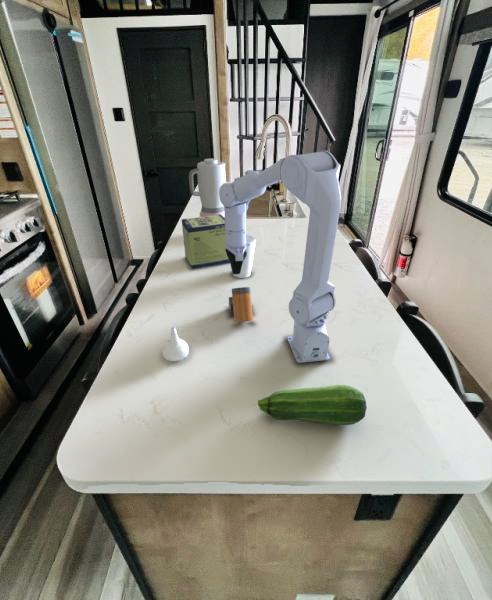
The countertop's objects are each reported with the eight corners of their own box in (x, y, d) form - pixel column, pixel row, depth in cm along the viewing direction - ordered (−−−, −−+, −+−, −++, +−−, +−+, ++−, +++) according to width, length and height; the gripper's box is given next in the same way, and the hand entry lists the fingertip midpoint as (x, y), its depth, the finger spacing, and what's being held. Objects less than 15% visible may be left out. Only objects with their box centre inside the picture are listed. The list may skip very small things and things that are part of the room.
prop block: (229, 308, 94) (228, 297, 92) (249, 306, 95) (249, 295, 92) (230, 316, 90) (230, 304, 88) (251, 314, 91) (251, 302, 89)
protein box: (231, 262, 120) (230, 222, 112) (191, 269, 115) (187, 228, 107) (222, 251, 128) (221, 213, 120) (184, 258, 123) (180, 218, 115)
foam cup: (223, 276, 111) (221, 241, 104) (235, 265, 118) (235, 232, 111) (247, 282, 107) (248, 246, 100) (259, 271, 114) (260, 236, 107)
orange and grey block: (231, 312, 92) (230, 281, 87) (248, 310, 93) (248, 279, 88) (235, 330, 85) (235, 297, 79) (254, 329, 85) (254, 296, 80)
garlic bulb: (163, 366, 74) (158, 339, 69) (162, 349, 79) (157, 323, 75) (191, 361, 75) (187, 334, 71) (187, 344, 80) (184, 318, 76)
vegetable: (372, 395, 55) (257, 388, 57) (369, 434, 56) (256, 427, 58) (360, 380, 63) (258, 375, 65) (358, 415, 63) (257, 409, 65)
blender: (222, 230, 149) (219, 156, 132) (233, 239, 139) (231, 160, 122) (190, 236, 143) (182, 159, 126) (198, 245, 134) (192, 163, 117)
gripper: (255, 237, 81) (254, 283, 88) (245, 219, 93) (245, 261, 100) (227, 239, 80) (228, 285, 87) (221, 220, 92) (223, 262, 99)
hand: (236, 272), depth 94 cm, fingers closed
